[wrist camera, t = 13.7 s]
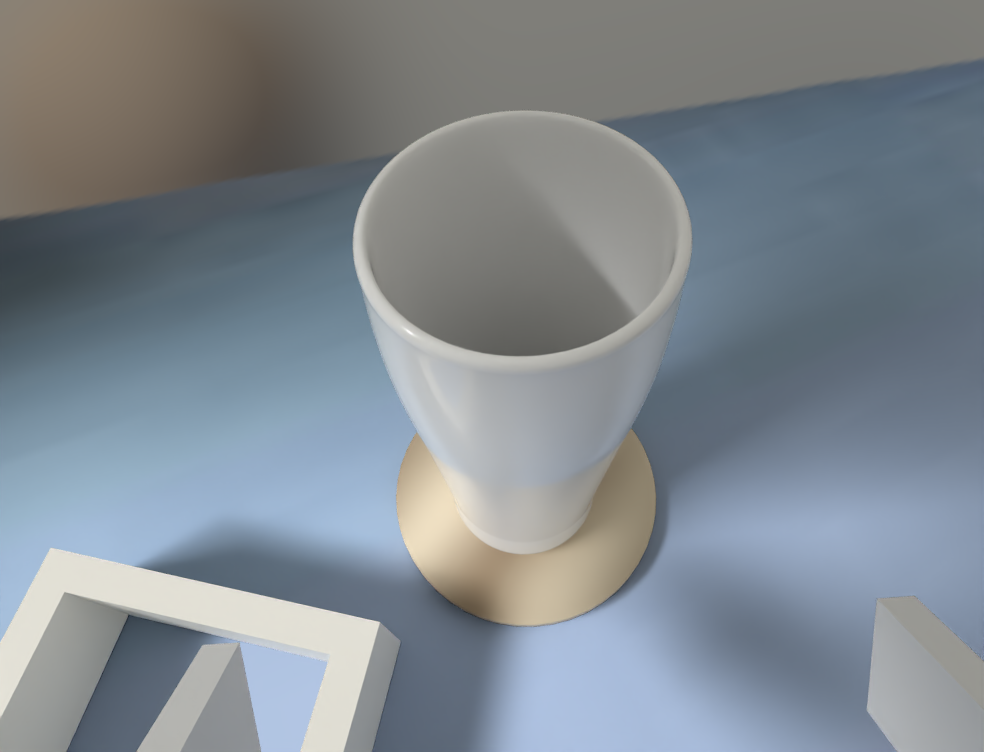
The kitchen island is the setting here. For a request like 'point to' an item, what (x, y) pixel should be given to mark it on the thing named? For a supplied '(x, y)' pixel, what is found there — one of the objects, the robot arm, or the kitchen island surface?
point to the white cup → (523, 307)
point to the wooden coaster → (532, 577)
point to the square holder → (184, 603)
